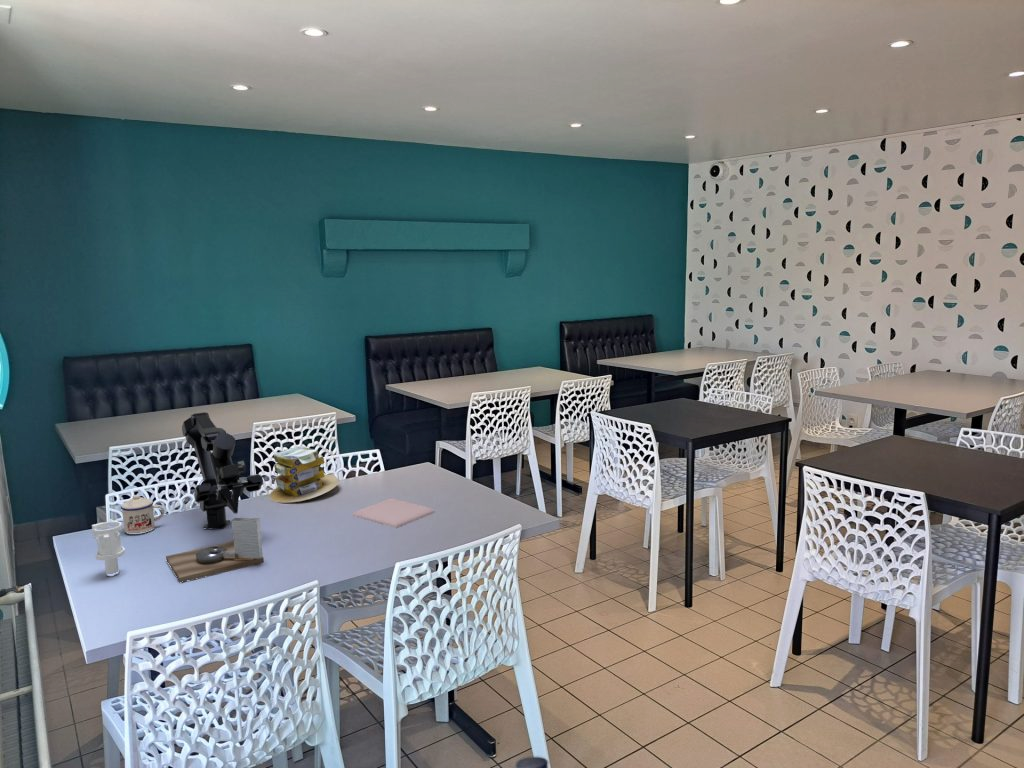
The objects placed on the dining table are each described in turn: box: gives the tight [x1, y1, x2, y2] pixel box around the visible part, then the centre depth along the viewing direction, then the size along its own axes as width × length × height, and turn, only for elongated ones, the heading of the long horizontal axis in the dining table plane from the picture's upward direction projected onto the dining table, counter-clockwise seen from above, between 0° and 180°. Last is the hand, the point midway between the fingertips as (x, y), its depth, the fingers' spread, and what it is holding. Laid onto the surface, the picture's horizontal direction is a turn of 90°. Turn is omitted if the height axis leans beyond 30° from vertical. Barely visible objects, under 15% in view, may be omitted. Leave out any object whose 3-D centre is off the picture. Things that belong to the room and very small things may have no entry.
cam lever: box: [196, 517, 264, 563], centre depth 205 cm, size 18×8×11 cm, turn 86°
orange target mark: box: [234, 558, 254, 560], centre depth 206 cm, size 5×1×1 cm, turn 87°
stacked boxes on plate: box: [268, 445, 340, 504], centre depth 268 cm, size 25×25×17 cm
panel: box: [352, 497, 436, 529], centre depth 240 cm, size 35×33×2 cm
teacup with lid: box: [120, 494, 165, 533], centre depth 233 cm, size 12×9×12 cm
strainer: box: [91, 520, 126, 574], centre depth 200 cm, size 7×7×15 cm
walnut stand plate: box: [165, 540, 265, 583], centre depth 208 cm, size 18×22×2 cm
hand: (236, 512), depth 214 cm, fingers closed
